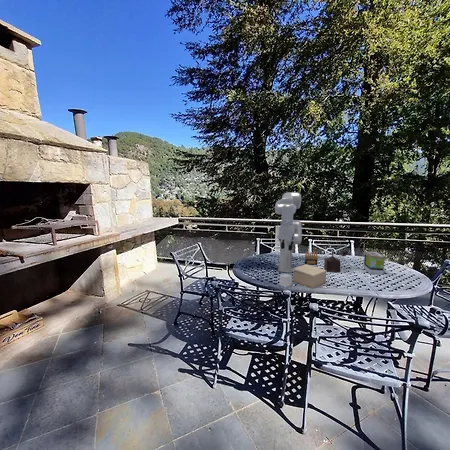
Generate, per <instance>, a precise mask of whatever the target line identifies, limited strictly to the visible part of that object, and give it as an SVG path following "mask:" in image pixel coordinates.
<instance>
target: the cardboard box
mask: <svg viewBox="0 0 450 450" xmlns="http://www.w3.org/2000/svg"><path fill="white" fill-rule="evenodd" d="M292 272H293V275H292V282H293V283H295V284H299V285H302V286H304V287H308V288H311V289H315V288H317V287H320V286H322V285H324V284H325V283H326V282H327V281H326V280H327V272H324V273H322V274H320V275H317V276H315V277H312V276H309V275H306V274H303V273H300V272H297V271H295V270H293V271H292Z"/></svg>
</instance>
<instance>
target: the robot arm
mask: <svg viewBox="0 0 450 450" xmlns="http://www.w3.org/2000/svg"><path fill="white" fill-rule="evenodd" d="M301 203H302V194H301V193H300V192H295V191H293V192H290V191H289V192H288V191H287V192H285V193H283V194H282V196H281V198H280V199H279V200H277V201H276V202H275V207H274V212H275V214H276V215H281V220H280V225H279V230H278V236H277V240H278V241H279V262H278V263H276V264H275V265H276V266H277V271H278V272H282V273H292V272H293V271H294V270H293V267H292V266H293V265H292V263H293V245H301V244H302V239H303V232H302V231H303V229H302V228H303V226H302V222H301V220H299V219H294V214H295V213H296V211H297V209H300V208H301V205H302V204H301Z"/></svg>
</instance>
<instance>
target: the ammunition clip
mask: <svg viewBox="0 0 450 450" xmlns="http://www.w3.org/2000/svg"><path fill="white" fill-rule="evenodd" d="M305 264H307V265H311V266H318V252H317V251H316V252H315V251H312V252H311V251H310V252H309V251H305V255H304V265H305Z"/></svg>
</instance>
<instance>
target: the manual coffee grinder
mask: <svg viewBox="0 0 450 450" xmlns="http://www.w3.org/2000/svg"><path fill="white" fill-rule="evenodd" d="M348 253H349V251H347V250H342V254H341V253H335V252H334V250H331V256H329V257H324V262H323V269H324V270H327V271H326V273H340V272H341V260H340V259H339V258H337V257H334V255H336V256H341V257H347V255H348Z"/></svg>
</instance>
